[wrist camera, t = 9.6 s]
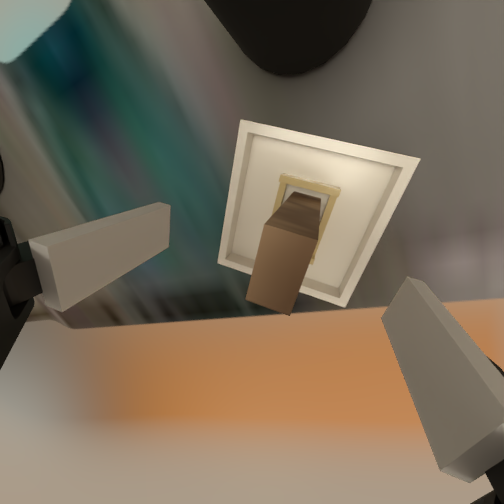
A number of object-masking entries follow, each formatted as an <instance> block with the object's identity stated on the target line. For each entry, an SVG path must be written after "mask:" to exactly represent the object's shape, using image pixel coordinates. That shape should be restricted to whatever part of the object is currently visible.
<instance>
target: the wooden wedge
mask: <svg viewBox="0 0 504 504" xmlns="http://www.w3.org/2000/svg"><path fill="white" fill-rule="evenodd" d="M320 207H321V198H318V197H314V196H311V195H307V194H303V193H299V192H296V191H294V192H293V193H292V194H291V195H290V196H289V197H288V198H287V200H286V201H285V202H284V203H283V204H282V205H281V206H280V207H279V208H278V209H277V211H276V212H275V213H274V214H273V215H272V216H271V217H270V218H269V219H268V220H267V222H266V223H265V224H264V227H263V231H262V235H261V239H260V243H259V247H258V251H257V255H256V259H255V263H254V267H253V271H252V275H251V279H250V283H249V287H248V291H247V295H246V299H245V300H248V301H251V302H253V303H256V304H259V305H262V306H264V307H267V308H270V309H272V310H275V311H278V312H280V313H283V314H286V315H289V316H290V314H291V311H292V309H293V306H294V303H295V301H296V298H297V295H298V293H299V290H300V287H301V285H302V282H303V279H304V277H305V274H306V271H307V269H308V266H309V263H310V261H311V258H312V255H313V253H314V250H315V247H316V245H317V242H318V236H319V222H320Z"/></svg>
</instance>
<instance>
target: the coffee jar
mask: <svg viewBox="0 0 504 504" xmlns="http://www.w3.org/2000/svg"><path fill="white" fill-rule="evenodd" d="M204 1H205V2H206V3H207V5H208V6H209V7H210V8H211V10H212V11H213V12H214V14H215V15H216V16H217V18H218V19H219V20H220V22H221V23H222V24H223V26H224V27H225V28H226V30H227V31H228V32H229V34H230V35H231V36H232V38H233V39H234V40H235V42H236V43H237V44H238V45H239V47H240V48H241V49H242V51H243V52H244V53H245V55H247V56H248V57H249V58H250V59H251V60H252V61H253V62H255V63H256V64H257V65H258V66H259V67H260V68H262V69H265V70H268V71H271V72H274V73H277V74H280V75H282V74H296V73H303V72H305V71H307V70H309V69H312V68H314V67H316V66H318V65H321V64H323V63H324V62H326V61H327V60H328V59H329V58H330V57H331V56H333V55H334V54H335V53H336V52H337V51H338V50H339V49H341V48H342V47H343V46H344V45H345V44H346V43H347V42H348V40H349V39H350V37H351V36H352V35H353V33H354V32H355V30H356V29H357V27H358V26H359V25H360V23H361V22H362V20H363V19H364V18H365V16H366V13H367V11H368V9H369V6H370V4H371V1H372V0H204Z"/></svg>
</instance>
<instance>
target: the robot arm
mask: <svg viewBox="0 0 504 504" xmlns="http://www.w3.org/2000/svg"><path fill="white" fill-rule="evenodd" d="M2 183H3V173H2V166H1V161H0V191H1V188H2ZM170 208H171V205H168V204H164V203H161V202H157V203H153V204H150V205H147V206H143V207H140V208H136V209H133V210H129V211H126V212H122V213H119V214H115V215H112V216H108V217H105V218H102V219H98V220H95V221H91V222H88V223H84V224H81V225H77V226H74V227H70V228H67V229H64V230H60V231H57V232H53V233H50V234H46V235H43V236H39V237H36V238H32V239H29V240H28V241H27V242H23V243H20V244H17V241H16V238H15V234H14V231H13V228H12V224H11V221H10V220H9V219H8V218H5V217H1V216H0V369H1V367H2V366H3V364H4V362H5V360H6V358H7V356H8V354H9V352H10V350H11V348H12V346H13V345H14V343H15V341H16V339H17V337H18V335H19V333H20V331H21V329H22V328H23V326H24V324H25V322H26V320H27V318H28V316H29V314H30V312H31V311H32V309H33V307H34V299H33V297H34V296H36V295H38V294H40V293H43V297H44V301H45V304H46V306H49V307H51V308H53V309H56V310H58V311H61V312H63V311H65V310H67V309H68V308H70V307H71V306H73V305H75V304H76V303H78V302H80V301H81V300H83V299H85V298H86V297H88V296H90V295H91V294H93V293H94V292H96V291H98V290H99V289H101V288H103V287H104V286H106V285H108V284H109V283H111V282H112V281H114V280H116V279H117V278H119V277H121V276H122V275H124V274H126V273H127V272H129V271H130V270H132V269H134V268H135V267H137V266H139V265H140V264H142V263H144V262H145V261H147V260H149V259H150V258H152V257H153V256H155V255H157V254H158V253H160V252H162V251H163V250H165V249H167V248H168V247H169V230H170ZM381 319H382V322H383V324H384V327H385V329H386V332H387V334H388V337H389V339H390V342H391V345H392V347H393V350H394V353H395V355H396V358H397V360H398V363H399V366H400V368H401V371H402V373H403V376H404V379H405V381H406V383H407V386H408V388H409V391H410V394H411V397H412V399H413V402H414V405H415V407H416V410H417V412H418V415H419V417H420V420H421V422H422V425H423V428H424V430H425V433H426V435H427V438H428V441H429V443H430V446H431V449H432V451H433V454H434V456H435V459H436V462H437V464H438V467H439V469H440V471H442V472H444V473H447V474H449V475H451V476H454V477H456V478H458V479H461V480H463V481H466V482H468V483H471V482H472V481H474V480H476V479H477V478H479V477H480V476H482V475H483V474H485V473H486V475H487V477H488V479H489V481H490V483H491V485H492V487H493V489H494V490H493V491H491V492H489V493H488V494H486V495H484V496H483V497H481V498H479V499H477V500H476V501H474V502H472V503H471V504H504V372H503V371H502V369H501V368H500V367H499V366H497V365H496V364H495V363H494V362H493V361H492V360H491V359H489V358H488V357H487V356H486V355H485V354H484V353H483V352H482V351H481V350H480V348H479V347H478V346H477V345H476V343H475V342H474V341H473V340H472V339H471V338H470V336H469V335H468V334H467V333H466V331H465V330H464V329H463V328H462V327H461V325H459V323H458V322H457V321H456V320H455V318H454V317H453V316H452V315H451V314H450V313H449V311H448V310H447V309H446V308H445V306H444V305H443V304H442V303H441V302H440V300H439V299H438V298H437V297H436V296H435V294H434V293H433V292H432V291H431V290H430V288H429V287H428V286H427V285H426V284H425V282H424V281H421V280H417V279H414V278H411V277H406V279H405V281H404V282H403V284H402V285H401V287H400V289H399V290H398V292H397V293H396V295H395V297H394V298H393V300H392V301H391V303H390V305H389V306H388V308H387V309H386V311H385V313H384V314H383V316H382V318H381Z"/></svg>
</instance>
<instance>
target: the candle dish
mask: <svg viewBox="0 0 504 504" xmlns="http://www.w3.org/2000/svg"><path fill="white" fill-rule="evenodd" d="M419 161H420V158H415V157H411V156H406V155H401V154H397V153H392V152H388V151H383V150H379V149H374V148H370V147H365V146H360V145H356V144H351V143H347V142H342V141H338V140H333V139H328V138H324V137H319V136H315V135H310V134H306V133H301V132H296V131H292V130H287V129H283V128H278V127H274V126H269V125H264V124H260V123H255V122H251V121H246V120H242V119H241V120H240V126H239V132H238V138H237V144H236V151H235V157H234V163H233V169H232V175H231V182H230V188H229V194H228V200H227V206H226V213H225V219H224V225H223V231H222V237H221V244H220V250H219V256H218V262H217V263H218V264H221V265H224V266H227V267H230V268H233V269H236V270H238V271H241V272H244V273H247V274H250V275H252V271H253V267H254V263H255V259H256V255H257V251H258V247H259V243H260V239H261V235H262V231H263V227H264V224H265V223H266V222H267V220H268V219H269V218H270V217H271V216H272V215H273V214H274V213H275V212H276V211H277V209H278V208H279V207H280V206H281V205H282V204H283V203H284V202H285V201H286V200H287V198H288V197H289V196H290V195H291V194H292V193H293V192H294V191H296V192H299V193H303V194H307V195H311V196H314V197H318V198H321V207H320V222H319V236H318V242H317V245H316V247H315V250H314V253H313V255H312V258H311V261H310V263H309V266H308V269H307V271H306V274H305V277H304V279H303V282H302V285H301V287H300V290H299V292H302V293H305V294H307V295H310V296H313V297H316V298H319V299H322V300H325V301H328V302H330V303H333V304H336V305H339V306H342V307H345V306H346V304H347V303H348V301H349V299H350V297H351V295H352V293H353V291H354V289H355V287H356V285H357V283H358V281H359V279H360V277H361V275H362V273H363V271H364V269H365V267H366V265H367V263H368V261H369V259H370V257H371V255H372V253H373V251H374V249H375V248H376V246H377V244H378V242H379V240H380V238H381V236H382V234H383V232H384V230H385V228H386V226H387V224H388V222H389V220H390V218H391V216H392V214H393V212H394V210H395V208H396V206H397V204H398V202H399V200H400V198H401V196H402V194H403V192H404V191H405V189H406V187H407V185H408V183H409V181H410V179H411V177H412V175H413V173H414V171H415V169H416V167H417V165H418V163H419Z"/></svg>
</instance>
